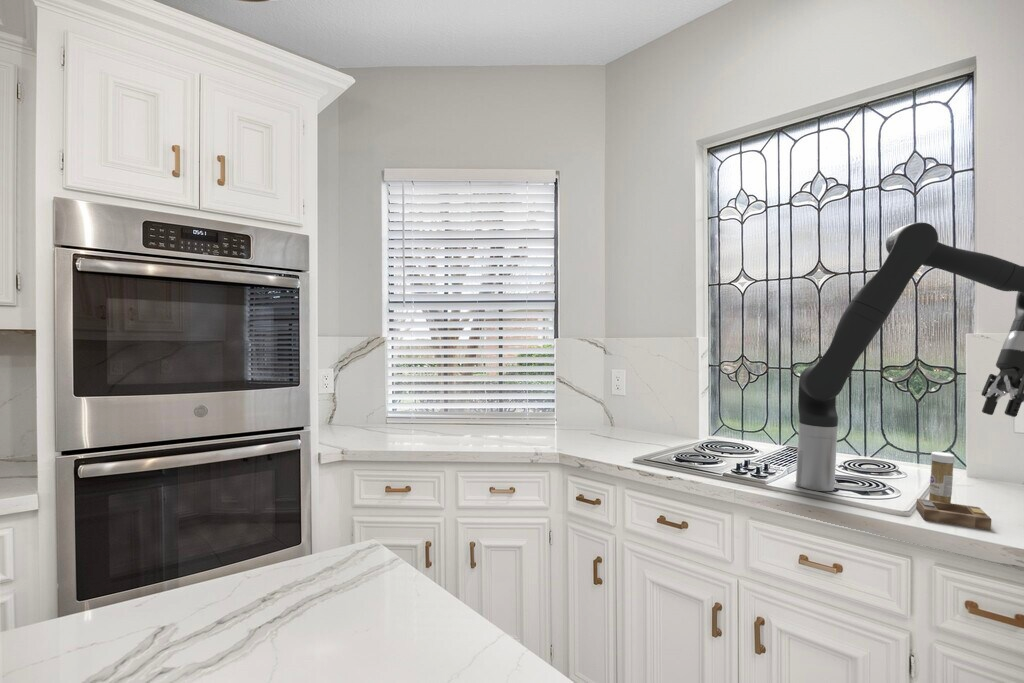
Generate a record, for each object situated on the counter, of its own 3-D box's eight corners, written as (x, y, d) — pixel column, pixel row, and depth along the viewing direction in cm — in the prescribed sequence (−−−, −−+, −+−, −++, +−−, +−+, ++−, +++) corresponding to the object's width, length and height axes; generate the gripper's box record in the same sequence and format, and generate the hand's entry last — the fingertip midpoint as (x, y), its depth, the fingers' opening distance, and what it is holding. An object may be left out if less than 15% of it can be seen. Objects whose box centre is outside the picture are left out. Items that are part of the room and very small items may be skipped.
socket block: (923, 519, 128) (924, 509, 128) (916, 508, 136) (916, 498, 136) (990, 530, 122) (991, 518, 122) (978, 517, 130) (979, 507, 130)
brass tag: (973, 513, 126) (973, 511, 126) (969, 509, 129) (969, 507, 129) (985, 514, 125) (985, 513, 125) (980, 510, 128) (980, 509, 128)
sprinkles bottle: (923, 504, 139) (926, 451, 139) (940, 504, 140) (943, 451, 139) (939, 510, 135) (942, 455, 134) (956, 510, 135) (959, 455, 135)
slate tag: (924, 505, 130) (924, 504, 130) (921, 502, 133) (921, 500, 133) (934, 507, 129) (934, 506, 129) (931, 503, 132) (931, 502, 132)
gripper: (985, 349, 144) (964, 408, 144) (1024, 345, 130) (1000, 410, 130) (1017, 359, 143) (995, 418, 143) (1060, 356, 129) (1036, 422, 129)
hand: (998, 414), depth 136 cm, fingers open, 8 cm apart
